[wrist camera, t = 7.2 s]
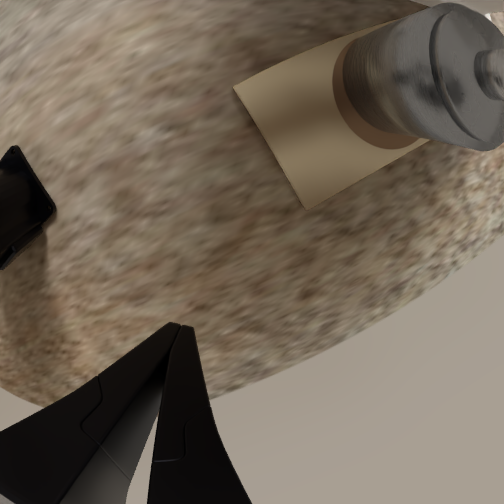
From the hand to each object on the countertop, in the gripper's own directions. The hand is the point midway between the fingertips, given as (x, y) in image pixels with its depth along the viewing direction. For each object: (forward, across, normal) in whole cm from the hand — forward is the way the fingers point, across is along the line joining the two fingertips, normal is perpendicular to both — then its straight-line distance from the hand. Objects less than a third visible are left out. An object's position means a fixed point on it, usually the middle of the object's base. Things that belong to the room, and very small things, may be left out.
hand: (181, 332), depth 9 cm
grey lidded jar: (+14, +9, +10) cm, 20 cm away
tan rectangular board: (+14, +7, +8) cm, 18 cm away
